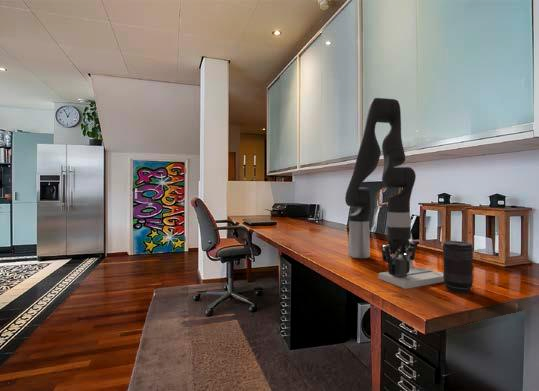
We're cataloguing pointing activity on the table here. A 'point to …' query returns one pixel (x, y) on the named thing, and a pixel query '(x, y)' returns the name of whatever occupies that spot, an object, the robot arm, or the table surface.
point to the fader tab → (400, 267)
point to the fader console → (414, 278)
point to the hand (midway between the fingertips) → (399, 273)
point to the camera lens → (458, 266)
